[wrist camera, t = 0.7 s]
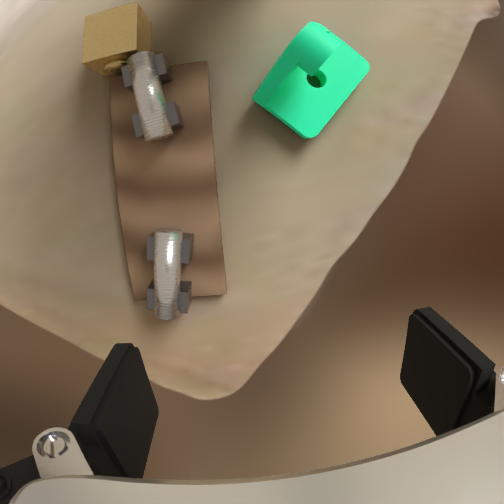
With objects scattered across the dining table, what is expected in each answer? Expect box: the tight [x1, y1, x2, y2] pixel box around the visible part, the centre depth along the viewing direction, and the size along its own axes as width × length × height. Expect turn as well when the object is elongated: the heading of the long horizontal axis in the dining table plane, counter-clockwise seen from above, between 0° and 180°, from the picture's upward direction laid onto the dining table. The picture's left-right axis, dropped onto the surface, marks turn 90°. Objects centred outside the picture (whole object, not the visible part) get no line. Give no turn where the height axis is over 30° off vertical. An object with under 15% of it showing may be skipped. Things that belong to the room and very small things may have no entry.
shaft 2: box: [147, 228, 194, 320], centre depth 33 cm, size 9×4×5 cm, turn 175°
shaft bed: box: [110, 61, 227, 300], centre depth 34 cm, size 26×11×2 cm, turn 5°
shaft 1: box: [121, 51, 184, 142], centre depth 28 cm, size 9×4×5 cm, turn 15°
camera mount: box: [252, 21, 370, 139], centre depth 27 cm, size 12×8×10 cm, turn 143°
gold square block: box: [82, 2, 151, 76], centre depth 27 cm, size 7×6×6 cm
